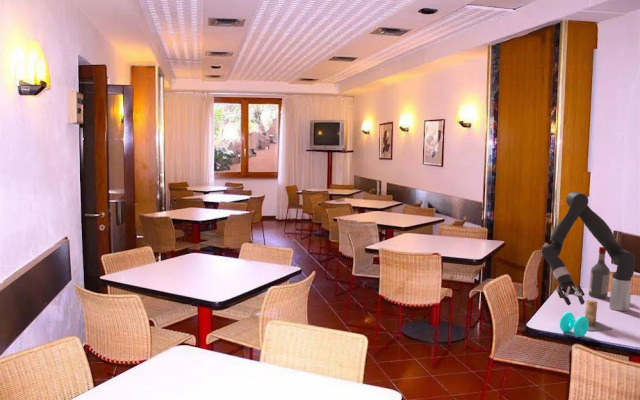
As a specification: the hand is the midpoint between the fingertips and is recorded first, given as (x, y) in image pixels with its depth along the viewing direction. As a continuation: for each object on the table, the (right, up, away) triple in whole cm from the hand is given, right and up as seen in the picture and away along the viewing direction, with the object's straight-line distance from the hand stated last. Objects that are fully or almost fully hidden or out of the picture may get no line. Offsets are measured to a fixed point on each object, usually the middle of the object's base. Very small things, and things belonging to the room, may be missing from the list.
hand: (576, 304), depth 286 cm
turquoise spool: (-12, -10, -23) cm, 28 cm away
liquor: (+34, -4, +45) cm, 56 cm away
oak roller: (+2, -8, -9) cm, 13 cm away
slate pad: (+3, -9, -9) cm, 13 cm away
